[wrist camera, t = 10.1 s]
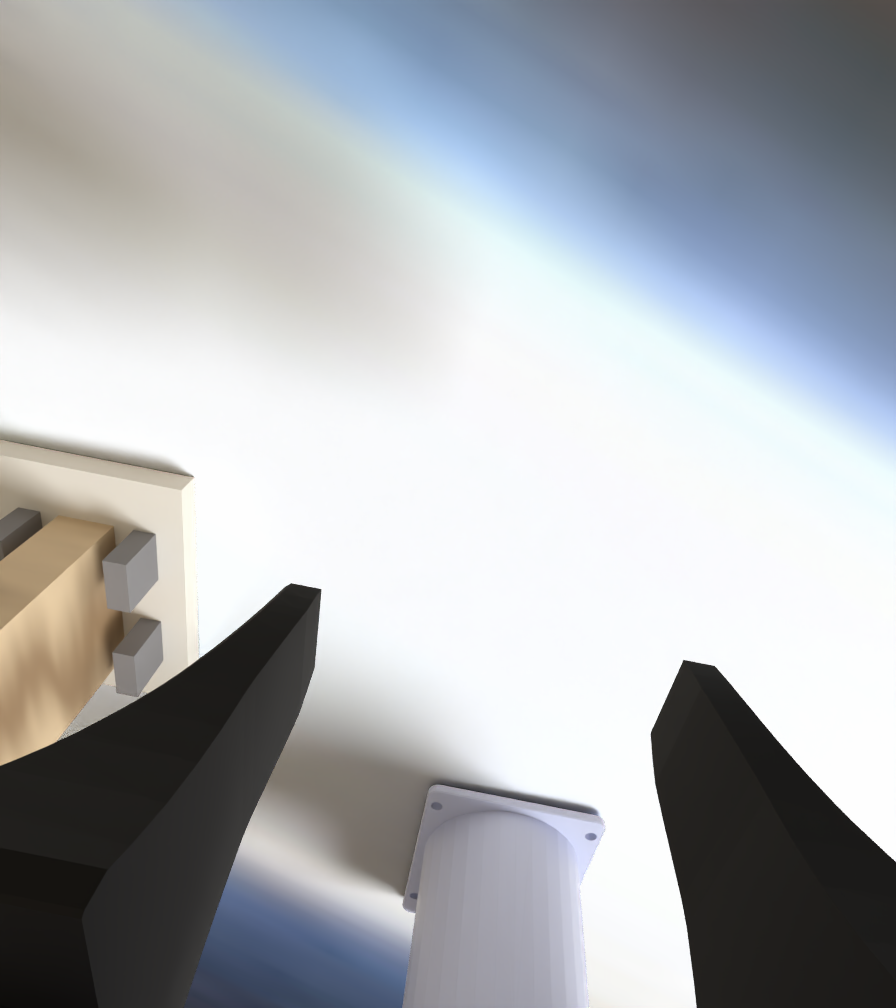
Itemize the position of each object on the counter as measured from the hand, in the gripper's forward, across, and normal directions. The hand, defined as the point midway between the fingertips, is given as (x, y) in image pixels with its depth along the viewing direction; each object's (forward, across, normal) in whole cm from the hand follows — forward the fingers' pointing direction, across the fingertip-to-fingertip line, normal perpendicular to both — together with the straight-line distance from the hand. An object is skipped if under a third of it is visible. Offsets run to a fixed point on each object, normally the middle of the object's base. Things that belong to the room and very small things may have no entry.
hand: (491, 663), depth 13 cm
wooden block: (+9, +14, +8) cm, 18 cm away
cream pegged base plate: (+10, +14, +8) cm, 19 cm away
